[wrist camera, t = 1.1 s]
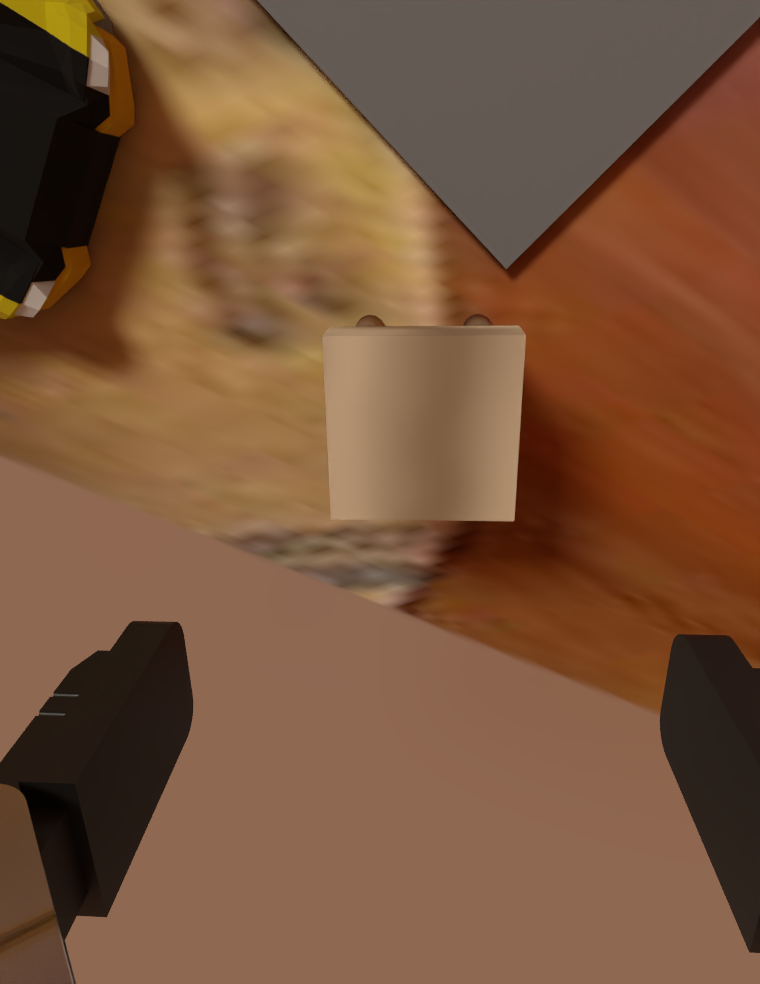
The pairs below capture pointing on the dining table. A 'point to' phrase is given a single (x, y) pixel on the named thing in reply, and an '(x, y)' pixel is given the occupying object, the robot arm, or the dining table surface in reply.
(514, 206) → the mat
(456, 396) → the stool
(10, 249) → the gaming controller
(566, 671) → the dining table surface
